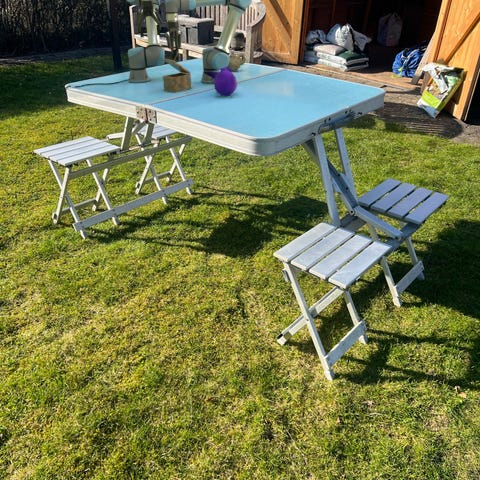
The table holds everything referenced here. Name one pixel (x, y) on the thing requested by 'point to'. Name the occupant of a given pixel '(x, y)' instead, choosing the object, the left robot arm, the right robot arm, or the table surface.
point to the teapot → (236, 61)
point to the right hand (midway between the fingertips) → (175, 59)
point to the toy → (224, 81)
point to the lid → (176, 64)
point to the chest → (177, 82)
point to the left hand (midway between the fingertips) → (150, 36)
